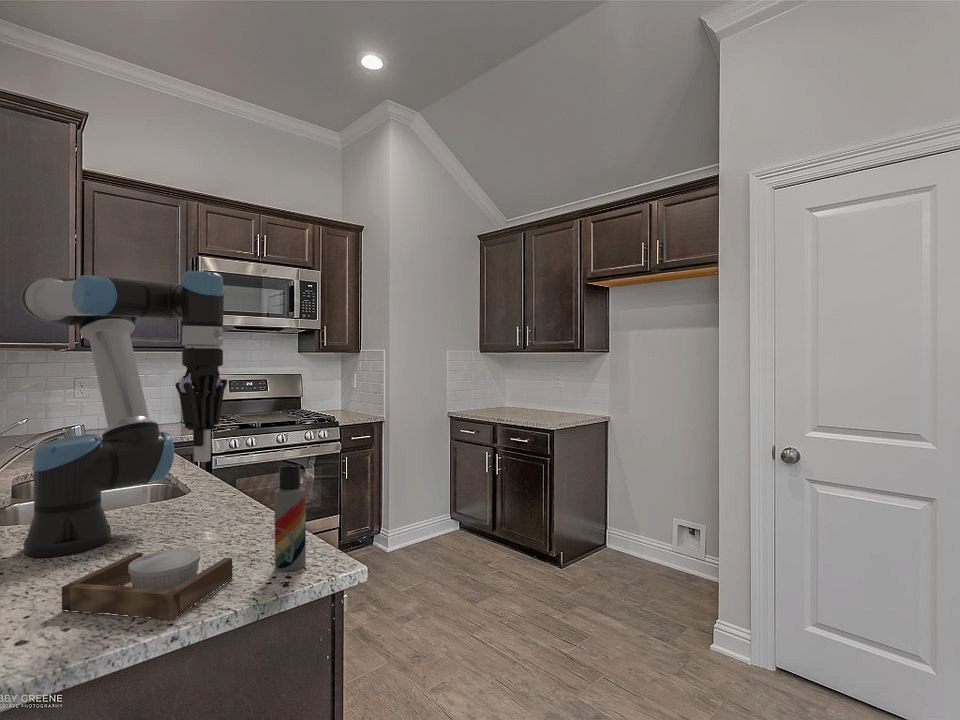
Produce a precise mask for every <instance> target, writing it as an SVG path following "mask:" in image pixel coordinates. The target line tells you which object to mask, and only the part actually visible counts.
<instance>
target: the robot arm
mask: <svg viewBox="0 0 960 720" xmlns="http://www.w3.org/2000/svg"><path fill="white" fill-rule="evenodd" d="M224 297H225V291H224V278H223V276H222V275H221V274H219V273H216V272H212V271H202V270H198V271H197V270H187V271H184V273H183V274H182V280H181V283H167V282H166V283H165V282H159V281H158V282H157V281H149V280H147V281H146V280H136V279H126V278H118V277H109V276H104V275H85V274H84V275H83V274H82V275H80V276H79V277H77V278H71V277H70V278H69V277H64V276H63V277H62V276H60V277H59V276H57V277H56V276H55V277H53V276H52V277H50V276H49V277H42V278H36V279H34V280H32V281H29V282H28V283H27V284H26V285H24V287H23V288H22V290H21V292H20V297H19V298H20V304H21V307H22V308H23V310H24V311H25V312H26V313H27V314H28V315H29V316H31V318H32V317H33V318H34V319H37V320H38V321H42V322H44V323H48V324H53V325H58V326H60V325H61V326H77V327H78V329H79V334H80V336H81V337H82V338H84V339H86V340H88V341H89V345H90V349H91V354H92V357H93V363H94V368H95V372H96V378H97V382H98V386H99V388H98V389H99V391H100V396H101V401H102V405H103V409H104V415H105V420H106V425H107V428H106V429H105V430H104V432H103V433H102V434H101V436H100V434H96V433H88V434H87V433H85V434H81V435H79V434H78V435H72V436H67V437H61V438H58V439H54V440H50V441H47V442H45V443H42V444H41V445H39V446H38V447H37V448H36V449H35V450H34V454H33V465H32V470H31V471H33V517H32V519H31V523H30V526H29V530H28V533H27V536H26V538H25V539H24V540H23V554H24V556H27V557H31V558H52V557H61V556H68V555H72V554H73V555H74V554H78V553H83V552H85V551H88V550H91V549H95V548H98V547H100V546H102V545H104V544H107V543H109V542H110V540H111V539H112V530H111V529H112V528H111V526H110V524H109V523H108V519H107V517H106V513H105V511H104V509H103V506H102V492H103V491H104V492H105V491H109V490H115V489H121V488H127V487H132V486H137V485H143V484H144V485H146V484H148V483H152V482H157V481H161V480H162V479H164V478H165V477H166V476H167V475H168V474H170V471H171V468H172V467H173V462H174V460H175V443H174V440H173V438H172V436H171V434H170V433H168V432H165V431H160V428H159V424H158V422H156V421H154V420H152V419H150V417H149V413H148V408H147V403H146V399H145V394H144V390H143V387H142V381H141V378H140V374H139V369H138V365H137V361H136V356H135V351H134V348H133V342H132V339H131V334H132V333H133V332H134V331H135V328H136V326H137V325H138V324H139V322H140V319H141V318H146V319H163V320H164V319H165V320H167V321H168V320H170V321H178V320H182V323H181V325H182V326H181V327H182V328H181V344H182V345H183V346H185V347H184V348H182V350H181V357H182V358H181V365H182V366H183V367H186V369H185V370H186V371H185V374H184V380H182V381H181V382H179V381H178V382H175V388H176V391H177V392H178V395H179V399H180V405H181V411H182V412H181V413H182V417H183V423H184V427H185V429H187V430H188V431H192V445H193V462H199V463H200V462H201V463H209V462H210V461H211V459H212V457H211V452H212V449H211V448H212V446H211V444H212V429H213V430H215V429H217V427H218V425H219V423H220V419H221V414H222V412H221V411H222V406H223V399H224V393H225V389H226V387H227V385H228V380H227V379H224V378H221V377H220V376H221V375H220V371H219V367H222V366H223V364H224V350H223V349H222V348H221V347H222V346H223V345H224V335H223V334H224V329H223V327H224V303H225V299H224Z"/></svg>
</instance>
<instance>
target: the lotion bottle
mask: <svg viewBox="0 0 960 720" xmlns="http://www.w3.org/2000/svg"><path fill="white" fill-rule="evenodd" d="M278 469H279V470H278V471H279V473H278V475H279V477H278V478H279V479H278V480H279V481H278V482H279V483H278V485H279V488H277V489H275V490H274V564H275V565H274V567H275V569H276V570H277V571H278V570H279V571H278V572H284V571H287V572H293V570H294V571H297V569H298V570H300V569H302V568H304V567H305V565H306V560H307V559H306V558H307V555H306V553H307V549H306V548H307V547H306V546H307V542H306V540H307V539H306V534H307V533H306V529H307V527H306V526H307V525H306V489H305V487H303V486H301V484H302V483H301V465H300V464H295V465H285V466H284V465H282V466H281V465H280V466H279V468H278Z"/></svg>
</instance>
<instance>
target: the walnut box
mask: <svg viewBox="0 0 960 720" xmlns="http://www.w3.org/2000/svg"><path fill="white" fill-rule="evenodd" d="M142 556H144V553H143V552H134V553H131V554H129V555H127V556H125V557H123V558H120V559H118V560H116V561H114V562H112V563H110V564H108V565H105V566H103V567H102V568H99V569H97V570H95V571H92V572H90V573H88V574H86V575H84V576H82V577H79V578H78V579H75V580H74V581H71V582H69V583H67V584H65V585H63V586H61V611H62V610H68V611H79V612H90V613H110V614H118V615H128V616H139V617H151V618H160V619H159V620H162V619H174V618H176V617H177V616H179V615H180V614H181V613H183V612H184V611H186V610H187V609H189V608H190V607H191V606H193V605H194V604H195V603H197V602H199V601H200V600H201V599H203V598H204V597H206V596H207V595H209V594H210V593H212V592H213V591H215V590H216V589H218V588H219V587H220V586H222V585H223V584H225V583H226V582H228V581H229V580H231V579H232V580H233V558H232V557H223V558H222V559H220V560H219V561H217V562H215V563H213V564H212V565H211V566H209V567H206V568H205V569H204V570H202V571H200V572H199V573H197V575H195V576H194V577H192V578H190V579H189V580H187V581H185V582H184V583H182V584H180V585H179V586H177V587H175V588H174V589H172V590H163V589H149V588H134V587H132V586H122V585H121V584H123V583H124V584H126V583H128V582H130V581H131V577H130V574H129V573H128V566H129V564H130V563H131V562H132V561H134V560H136V559H138V558H140V557H142ZM129 580H130V581H129ZM232 580H231V581H232ZM127 581H128V582H127ZM125 582H126V583H125ZM228 583H229V582H228ZM124 584H123V585H124ZM119 585H121V586H119ZM225 585H226V584H225ZM218 590H219V589H218ZM215 592H216V591H215ZM212 594H213V593H212ZM209 596H210V595H209ZM206 598H207V597H206ZM199 603H200V602H199ZM193 607H194V606H193ZM190 609H191V608H190ZM190 609H189V610H190ZM186 612H187V611H186ZM183 614H184V613H183ZM180 616H181V615H180ZM180 616H179V617H180ZM177 618H178V617H177ZM177 618H176V619H177ZM174 620H175V619H174Z"/></svg>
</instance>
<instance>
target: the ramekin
mask: <svg viewBox="0 0 960 720" xmlns="http://www.w3.org/2000/svg"><path fill="white" fill-rule="evenodd" d="M200 561H201V553H200V552H199V551H198V550H195V549H193V548H192V549H191V548H173V549H167V550H160V551H155V552H151V553H149V554H146V555H143V556H142V557H140V558H138V559H136V560H134V561H132V562H131V563H130V564H129V566H128V573H129V574H130V577H131V580H130V582H131V587H134V588H149V589H163V590H172V589H174V588H175V587H177V586H179V585H180V584H182V583H184V582H185V581H187V580H189V579H190V578H192V577H194V576H195V575H197V574H198V571H199V570H198V569H199V562H200Z"/></svg>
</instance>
